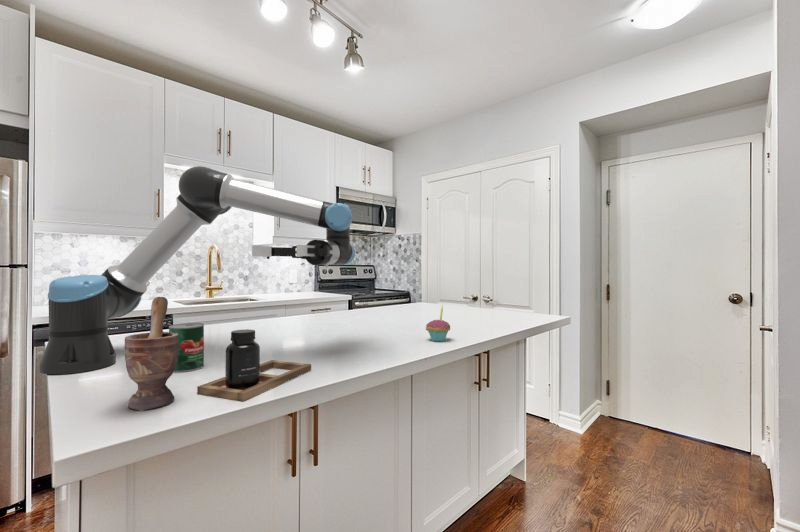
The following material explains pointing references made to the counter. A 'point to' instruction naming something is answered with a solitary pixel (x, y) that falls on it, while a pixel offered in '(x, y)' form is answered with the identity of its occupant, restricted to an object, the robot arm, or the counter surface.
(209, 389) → the divided wooden tray
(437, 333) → the cupcake
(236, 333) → the supplement bottle
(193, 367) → the canned tomato
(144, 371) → the mortar and pestle
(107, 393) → the counter surface
